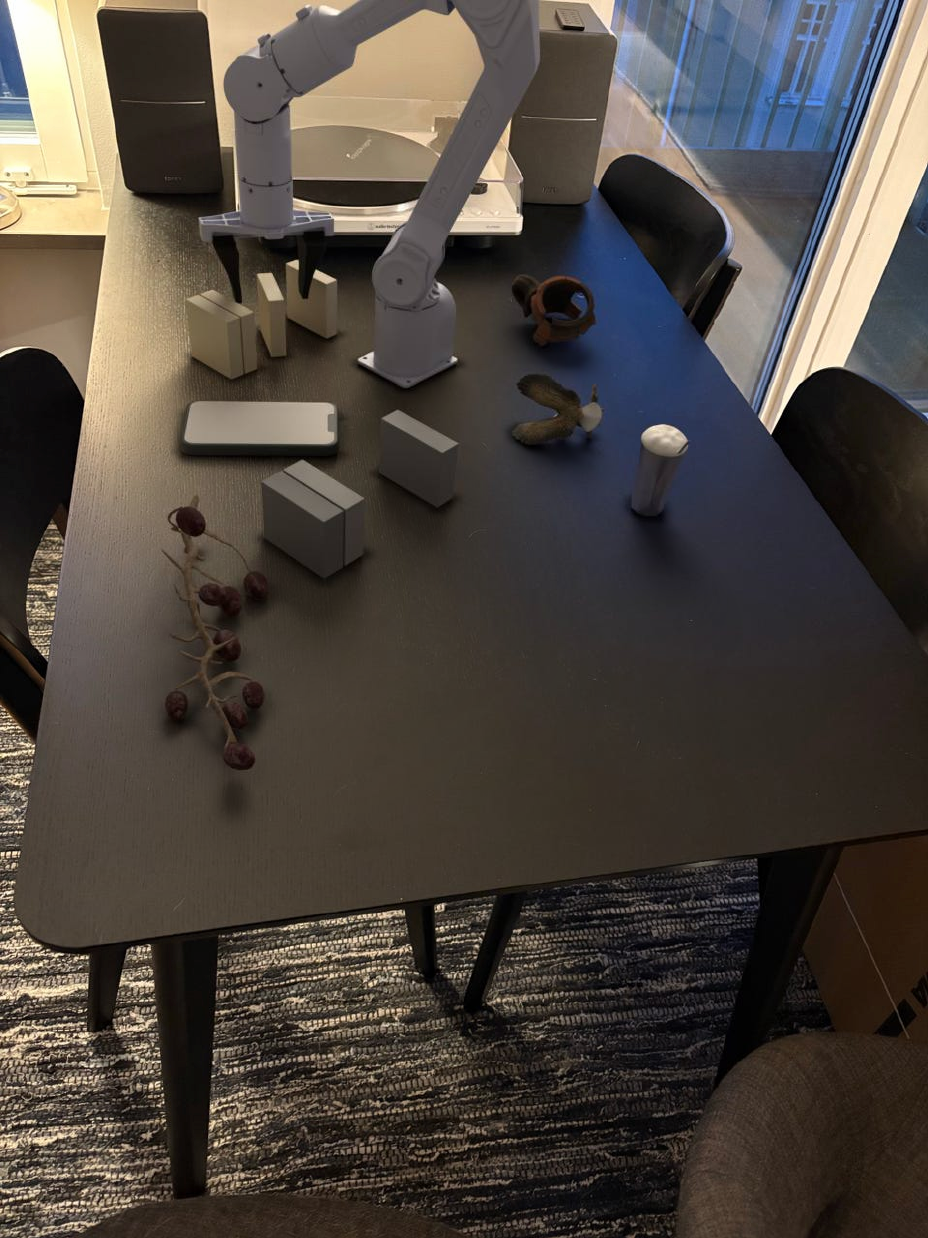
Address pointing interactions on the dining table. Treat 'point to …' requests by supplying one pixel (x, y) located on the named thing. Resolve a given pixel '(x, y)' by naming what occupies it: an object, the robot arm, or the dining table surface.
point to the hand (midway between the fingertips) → (270, 297)
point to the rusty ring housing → (554, 306)
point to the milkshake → (657, 468)
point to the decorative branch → (215, 637)
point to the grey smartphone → (260, 428)
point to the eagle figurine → (561, 401)
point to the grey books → (352, 495)
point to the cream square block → (271, 314)
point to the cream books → (229, 327)
